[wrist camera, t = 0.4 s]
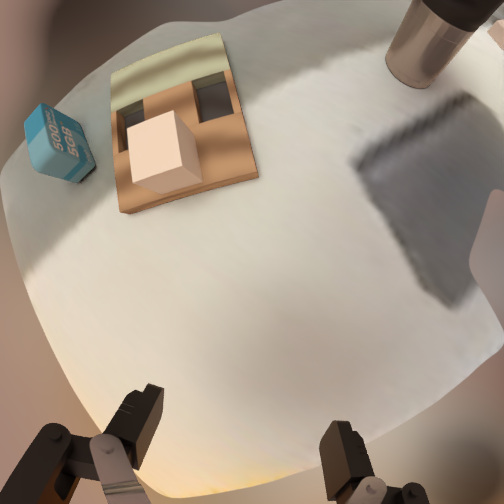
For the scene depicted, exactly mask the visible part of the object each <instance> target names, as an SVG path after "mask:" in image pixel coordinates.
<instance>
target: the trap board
mask: <svg viewBox="0 0 504 504" xmlns="http://www.w3.org/2000/svg"><path fill="white" fill-rule="evenodd" d="M172 110H174V112H175V113H176V114H177V115H178V116H179V118H180V119H181V120H182V121H183V122H184V123H185V125H186V126H187V127H188V128H189V129H190V131H191V132H192V133H193V134H194V137H195V142H196V148H197V153H198V158H199V163H200V168H201V173H202V178H203V182H202V183H198V184H195V185H192V186H188V187H185V188H182V189H178V190H175V191H172V192H169V193H165V194H162V195H161V194H159V193H156V192H154V191H151V190H149V189H147V188H144V187H142V186H139V185H137V184H134V183H133V182H132V174H131V165H130V156H129V146H128V135H127V128H129V127H132V126H134V125H136V124H139V123H141V122H144V121H146V120H149V119H151V118H154V117H156V116H159V115H162V114H164V113H167V112H170V111H172ZM111 126H112V144H113V158H114V169H115V179H116V187H117V195H118V203H119V210H120V212H121V213H126V214H132V213H135V212H138V211H141V210H145V209H148V208H151V207H154V206H157V205H160V204H163V203H167V202H170V201H173V200H176V199H180V198H183V197H187V196H190V195H193V194H197V193H200V192H204V191H208V190H211V189H215V188H219V187H222V186H226V185H230V184H234V183H238V182H242V181H246V180H250V179H254V178H258V177H259V176H258V172H257V168H256V164H255V160H254V156H253V152H252V148H251V144H250V140H249V136H248V132H247V129H246V125H245V121H244V117H243V113H242V109H241V106H240V102H239V98H238V94H237V91H236V87H235V83H234V79H233V76H232V72H231V68H230V65H229V61H228V58H227V54H226V51H225V47H224V43H223V40H222V37H221V34H220V33H216V34H212V35H209V36H205V37H202V38H199V39H195V40H192V41H189V42H186V43H183V44H180V45H178V46H175V47H172V48H169V49H167V50H164V51H161V52H159V53H156V54H154V55H151V56H149V57H147V58H144V59H142V60H140V61H137V62H135V63H133V64H131V65H129V66H127V67H124V68H122V69H120V70H118V71H116V72H114V73H112V74H111Z"/></svg>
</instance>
